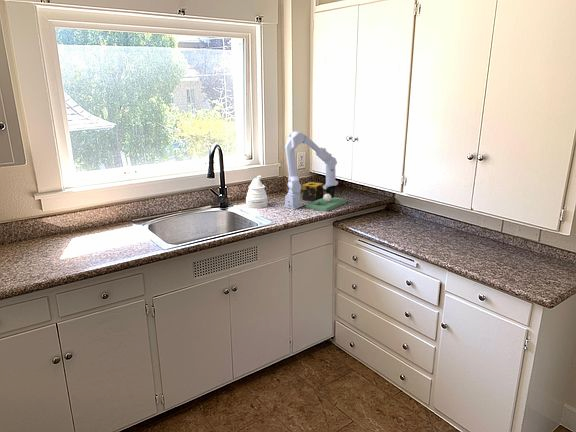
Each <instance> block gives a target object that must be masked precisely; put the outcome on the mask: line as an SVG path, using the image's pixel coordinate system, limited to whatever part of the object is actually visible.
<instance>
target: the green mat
mask: <svg viewBox="0 0 576 432" xmlns="http://www.w3.org/2000/svg"><path fill="white" fill-rule="evenodd" d="M346 203H348V199H347V198H343V197H342V198H341V197H336V196H334V197H333V198H332V199H331V201H329V202H325V201H324V199H323V198H321V199H318V200H316V201H310V202H309V203H306V204H305V208H306V209H312V210H317V211H321V212H329V211H330V210H333V209H336V208H337V207H340V206H342V205H344V204H346Z"/></svg>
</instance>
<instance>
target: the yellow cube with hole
mask: <svg viewBox="0 0 576 432" xmlns="http://www.w3.org/2000/svg"><path fill="white" fill-rule="evenodd" d="M301 186H302V188H301V191H302V195H301V197H302V199H301V200H302V201H308V202H313V201H316V200H318V199H321V198H323V196H324V189H323V186H324V183H322V182H313V181H308V182H306V183H303V184H301Z"/></svg>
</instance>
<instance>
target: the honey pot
mask: <svg viewBox="0 0 576 432" xmlns="http://www.w3.org/2000/svg"><path fill="white" fill-rule="evenodd" d="M262 177H263V176H262V175H257V176H256V177H255V178H254V179H252V181H251V183H250V185H249V186H248V191H247V193H246V197H245V203H246V207H247V208H250V209H262V208H263V209H264V208H266V207H268V195H267V192H266V189H265V188H266V185H264V184H263V183H262V182H261V179H262Z"/></svg>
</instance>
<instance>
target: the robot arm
mask: <svg viewBox="0 0 576 432" xmlns="http://www.w3.org/2000/svg"><path fill="white" fill-rule="evenodd" d="M301 144H304V145H306V146H308V147H309V148H311V149H312V150H314V152H315V155H316V156H317V157H318V158H319V159H320V160H321V161H322V162H324V164H325V184H323V190H325V192H326V194H330V195H331V199H332V198H333V197H335V192H336V190H337V189H338V186H337V185H339V180H336V166H337V164H338V161H337V158H336V157H334V156H332V155H333V154H332V153H330V152H328V151H327V149H326V148H325V147H319V146H318V144H316V143H315V142H314V141H313V140H312V139H311V138H310V137H309V136H308V135H305V134H304V133H303V132H300V131H298V130H293V131H292V132H291V133H289V135H288V138H287V140H286V143H285V145H284V146H285V147H284V148H285V156H286V162H287V171H288V179H287V181H288V182H287V187H288V192H287V194H286V195H285V196H284V206H283V208H286V209H291V210H296V209H299V208H301V207H304V204H301V200H302V199H301V197H302V195H301V193H302V192H301V191H302V184H301V183H300V179H299V176H298V175H299V174H298V167H297V160H296V152H295V149H296V148H297V147H298V146H299V145H301Z"/></svg>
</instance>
